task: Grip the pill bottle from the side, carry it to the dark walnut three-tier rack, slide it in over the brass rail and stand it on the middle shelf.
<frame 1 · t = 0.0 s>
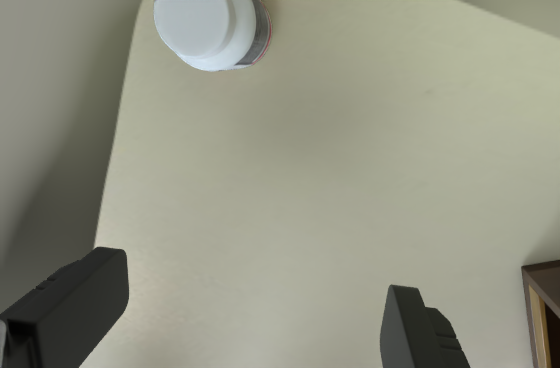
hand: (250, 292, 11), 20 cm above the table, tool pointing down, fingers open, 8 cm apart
pill bottle: (237, 31, 28), on the table
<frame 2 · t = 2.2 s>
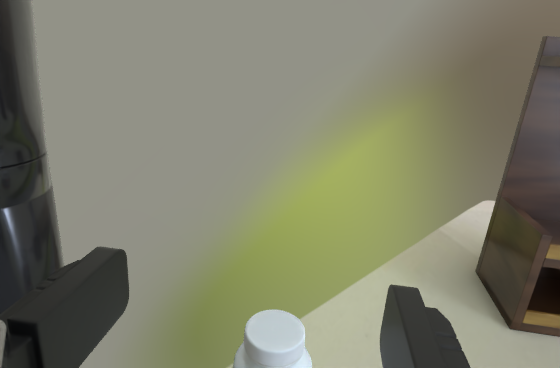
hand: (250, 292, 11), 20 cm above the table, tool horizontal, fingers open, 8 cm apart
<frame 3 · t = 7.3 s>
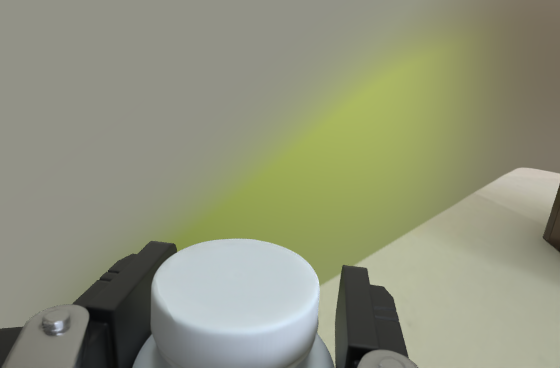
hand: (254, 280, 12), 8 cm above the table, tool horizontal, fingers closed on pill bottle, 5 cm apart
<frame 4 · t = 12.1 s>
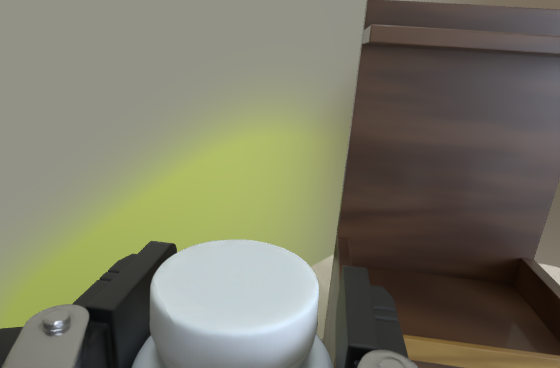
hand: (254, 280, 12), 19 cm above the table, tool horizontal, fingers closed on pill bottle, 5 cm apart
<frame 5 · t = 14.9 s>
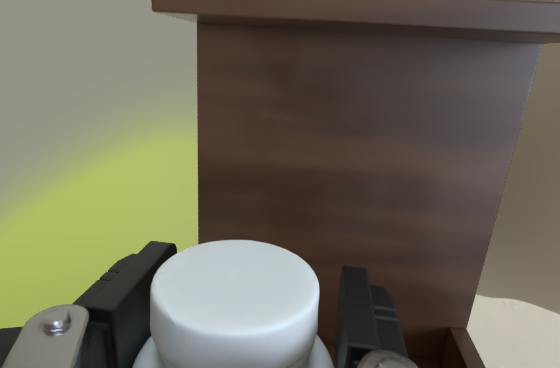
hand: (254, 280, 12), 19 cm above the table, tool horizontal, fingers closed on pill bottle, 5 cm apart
when the fingers open (17 cm above the table, at t = 17.1 s): pill bottle stays where it is, resting on rack.
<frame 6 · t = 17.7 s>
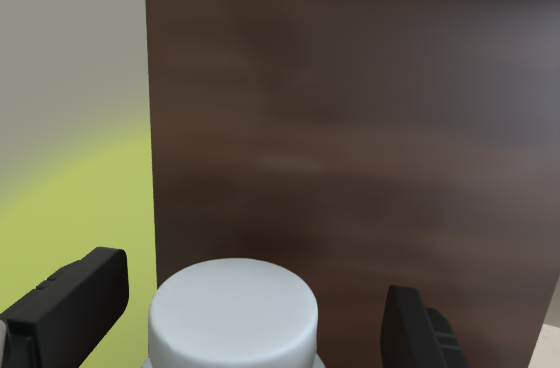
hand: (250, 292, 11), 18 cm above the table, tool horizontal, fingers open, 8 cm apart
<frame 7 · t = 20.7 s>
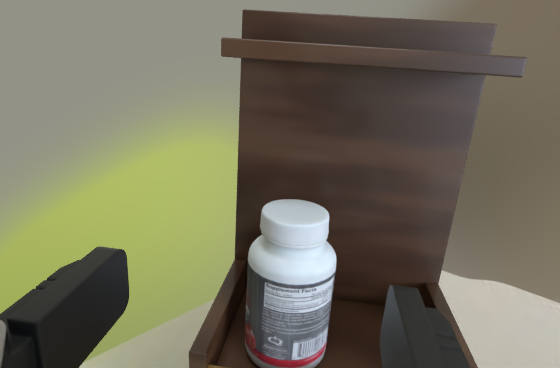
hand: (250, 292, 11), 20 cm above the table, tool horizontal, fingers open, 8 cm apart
pill bottle: (284, 349, 25), point 9 cm above the table, touching rack
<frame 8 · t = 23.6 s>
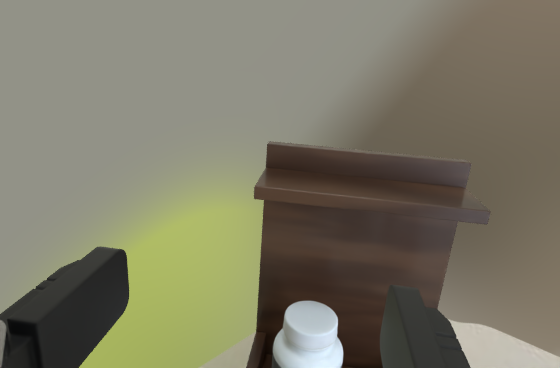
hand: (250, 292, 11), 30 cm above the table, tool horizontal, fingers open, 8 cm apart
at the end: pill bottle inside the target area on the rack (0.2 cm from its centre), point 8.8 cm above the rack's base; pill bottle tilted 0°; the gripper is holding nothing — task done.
